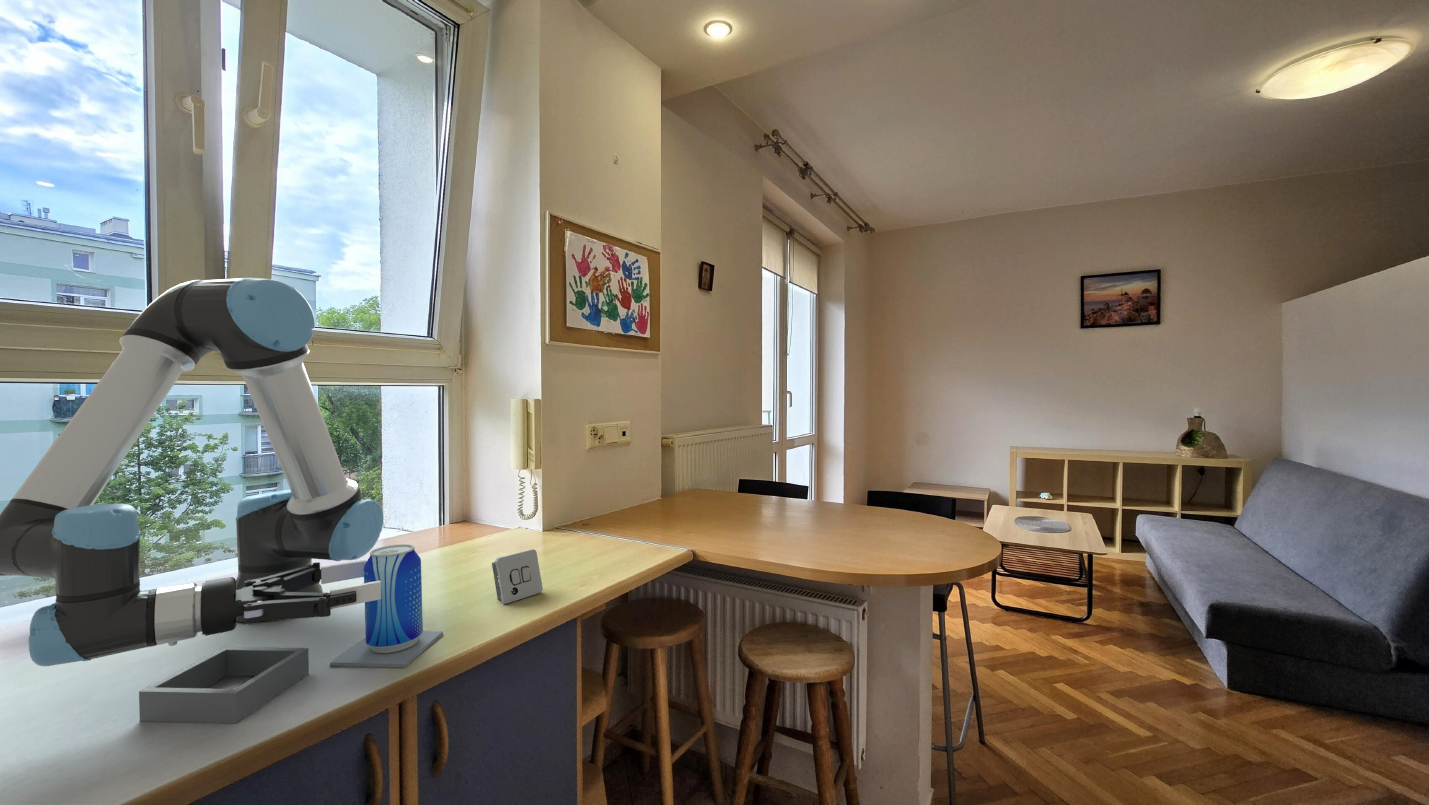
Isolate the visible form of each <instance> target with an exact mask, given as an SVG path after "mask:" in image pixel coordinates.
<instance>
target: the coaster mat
mask: <svg viewBox="0 0 1429 805" xmlns="http://www.w3.org/2000/svg"><path fill="white" fill-rule="evenodd" d="M442 636H444V631H441V630H439V631H438V630H423V633H422V634H421V636H420V637H419V639H418V641H417V642H416V643H415V644H414V645H413V646H411V647H409V648H406V649H403V650H400V651H396V652H390V653H377V652H374V651H372V650H371V648H370V646H368V645H367V644H366V637H364V638H362V640H360V641H359V642H357V643H356V644H354V645H353V646H351V647H350V648H348V649H346V651H344V652H343V653H341V654H340V655H338V656H337V657H336V658H334V659H332V660H331V661H330V662H329V667H348V668H349V667H355V668H357V667H358V668H406V667H408V665H409V664H411V663H412V662H413V661H414V660H415V659H417V658H418V657H420V655H421V654H423V653H424V652H425V650H427V649H428V648H429V647H430V646H432V645H433V644H434V643H436V642H437V640H439V639H440V638H441V637H442Z"/></svg>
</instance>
